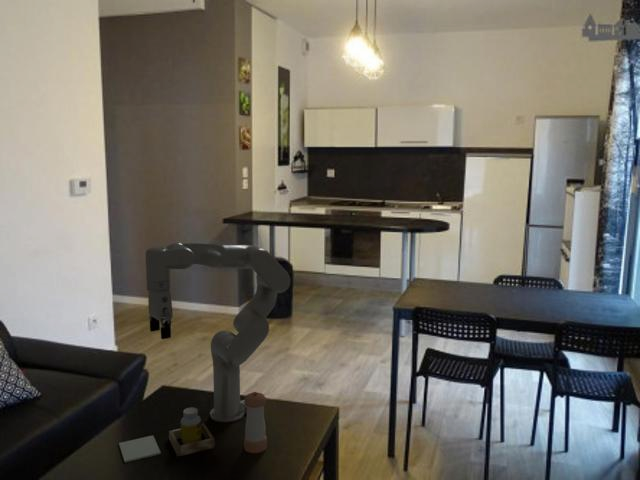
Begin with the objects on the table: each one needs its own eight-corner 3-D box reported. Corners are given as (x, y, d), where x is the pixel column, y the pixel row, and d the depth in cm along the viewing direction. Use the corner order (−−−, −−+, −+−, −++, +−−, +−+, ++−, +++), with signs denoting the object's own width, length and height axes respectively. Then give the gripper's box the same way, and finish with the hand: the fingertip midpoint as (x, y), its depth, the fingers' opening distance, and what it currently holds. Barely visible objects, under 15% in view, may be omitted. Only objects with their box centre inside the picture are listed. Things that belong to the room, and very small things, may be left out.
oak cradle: (204, 431, 190) (204, 423, 190) (214, 447, 180) (214, 439, 179) (169, 439, 185) (168, 430, 184) (177, 456, 174) (177, 447, 174)
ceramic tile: (153, 437, 186) (153, 435, 186) (160, 454, 175) (160, 452, 175) (119, 444, 181) (118, 443, 181) (124, 462, 170) (124, 461, 170)
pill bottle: (196, 449, 178) (195, 416, 176) (178, 447, 180) (176, 414, 178) (204, 439, 185) (203, 407, 183) (186, 437, 186) (185, 405, 184)
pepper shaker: (248, 455, 175) (248, 398, 172) (241, 444, 181) (240, 390, 178) (270, 449, 178) (269, 394, 175) (261, 439, 185) (261, 385, 182)
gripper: (179, 288, 177) (181, 339, 180) (159, 278, 191) (161, 326, 193) (157, 291, 173) (159, 343, 175) (138, 281, 186) (140, 329, 189)
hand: (160, 334), depth 184 cm, fingers open, 9 cm apart
